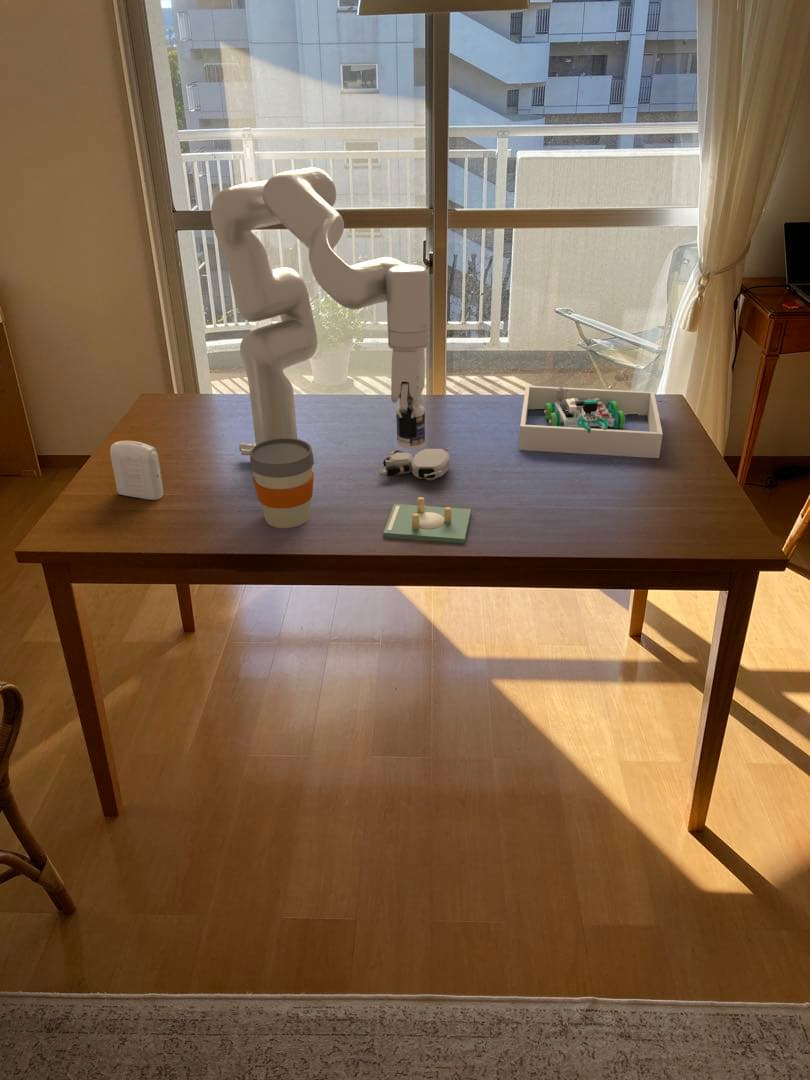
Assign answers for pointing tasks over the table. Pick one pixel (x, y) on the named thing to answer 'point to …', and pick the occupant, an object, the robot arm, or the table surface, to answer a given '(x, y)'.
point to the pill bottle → (420, 437)
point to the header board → (427, 523)
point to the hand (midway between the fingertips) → (411, 429)
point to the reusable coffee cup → (283, 480)
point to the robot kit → (583, 412)
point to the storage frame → (598, 438)
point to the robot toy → (418, 463)
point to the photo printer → (136, 470)
